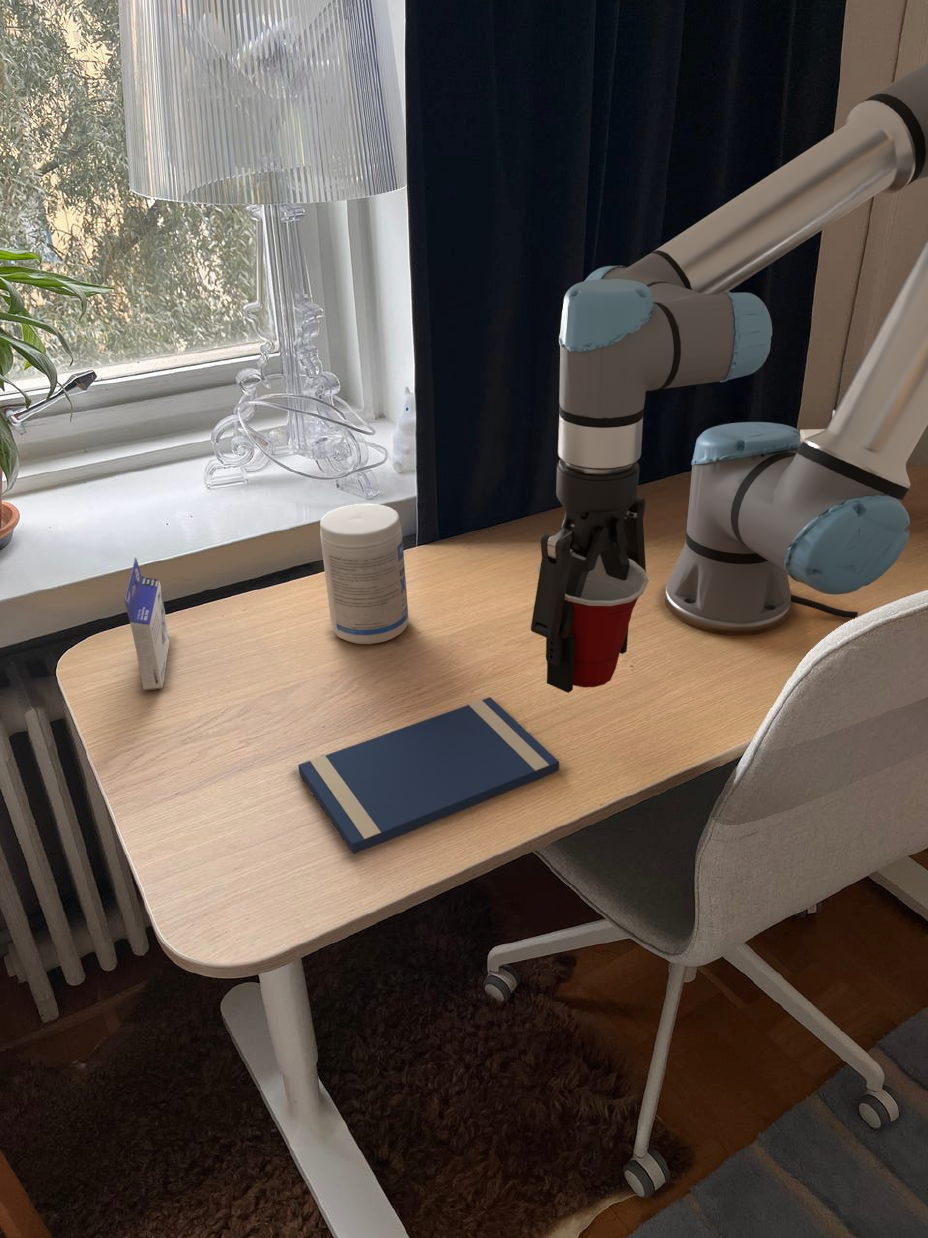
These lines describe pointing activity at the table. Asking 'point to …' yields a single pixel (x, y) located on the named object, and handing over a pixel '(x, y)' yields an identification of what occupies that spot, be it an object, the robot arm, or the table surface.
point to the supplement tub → (364, 572)
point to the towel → (424, 772)
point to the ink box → (148, 627)
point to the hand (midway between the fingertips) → (587, 666)
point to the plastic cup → (602, 621)
